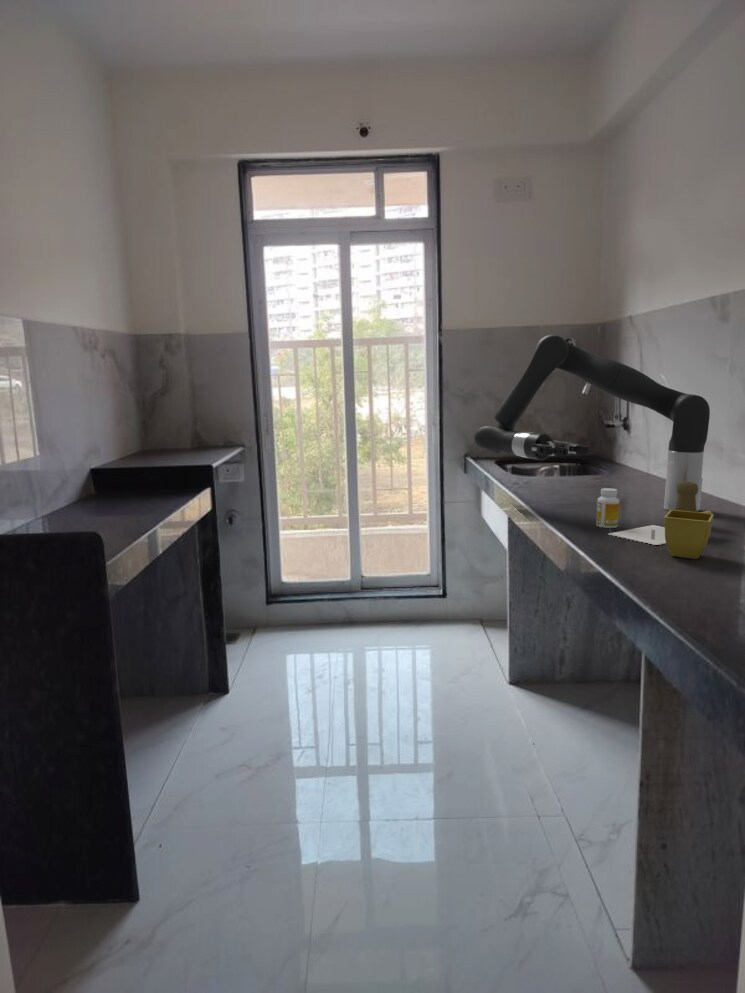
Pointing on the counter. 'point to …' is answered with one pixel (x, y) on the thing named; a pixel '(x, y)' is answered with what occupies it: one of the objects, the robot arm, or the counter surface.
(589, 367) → the robot arm
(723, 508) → the counter surface
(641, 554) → the counter surface
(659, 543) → the paper
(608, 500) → the supplement bottle
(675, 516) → the flower pot
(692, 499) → the olive chess pawn
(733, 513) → the counter surface
